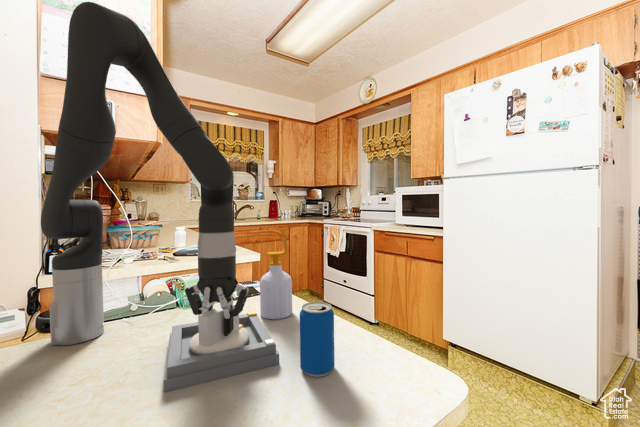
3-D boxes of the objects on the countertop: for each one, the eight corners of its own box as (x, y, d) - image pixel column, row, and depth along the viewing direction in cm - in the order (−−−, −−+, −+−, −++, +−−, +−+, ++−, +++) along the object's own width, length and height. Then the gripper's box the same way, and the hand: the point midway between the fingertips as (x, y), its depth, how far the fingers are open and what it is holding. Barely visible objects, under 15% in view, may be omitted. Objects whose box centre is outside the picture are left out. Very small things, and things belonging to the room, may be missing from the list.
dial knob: (220, 361, 54) (219, 324, 54) (176, 348, 59) (175, 314, 59) (260, 334, 65) (260, 303, 65) (220, 325, 70) (219, 297, 70)
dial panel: (164, 392, 49) (163, 366, 49) (170, 342, 67) (169, 323, 67) (279, 363, 57) (278, 342, 57) (256, 326, 75) (256, 309, 75)
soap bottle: (259, 310, 87) (257, 228, 86) (289, 307, 89) (287, 227, 89) (262, 322, 78) (260, 230, 77) (295, 317, 81) (294, 229, 80)
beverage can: (331, 381, 51) (330, 313, 51) (296, 377, 53) (295, 311, 52) (336, 361, 58) (336, 301, 57) (305, 358, 59) (304, 300, 59)
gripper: (174, 256, 58) (176, 341, 59) (243, 256, 57) (244, 343, 57) (194, 250, 66) (195, 326, 66) (255, 250, 64) (256, 328, 65)
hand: (218, 333), depth 62 cm, fingers closed on dial knob, 3 cm apart
